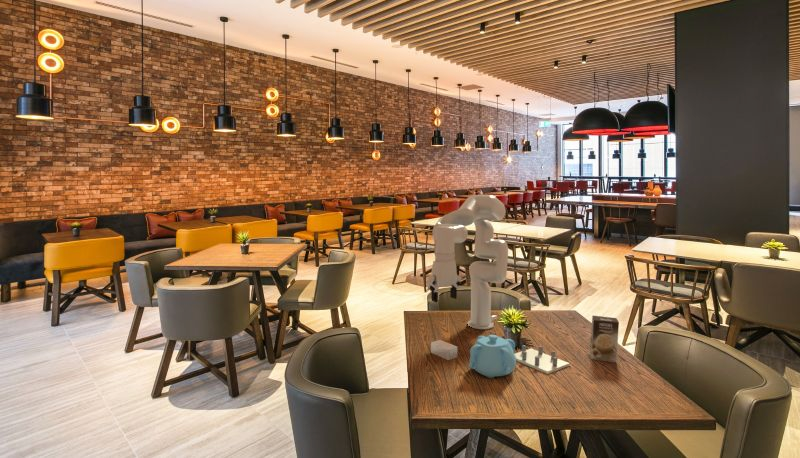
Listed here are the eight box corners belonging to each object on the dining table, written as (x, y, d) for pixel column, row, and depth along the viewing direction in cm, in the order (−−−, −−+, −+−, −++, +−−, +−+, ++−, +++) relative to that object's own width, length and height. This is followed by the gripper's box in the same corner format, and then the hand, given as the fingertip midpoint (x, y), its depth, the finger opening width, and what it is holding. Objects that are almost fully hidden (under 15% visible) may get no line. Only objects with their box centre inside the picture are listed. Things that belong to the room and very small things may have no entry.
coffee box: (591, 359, 170) (592, 319, 168) (589, 353, 176) (591, 315, 174) (617, 362, 167) (619, 322, 165) (614, 356, 173) (616, 317, 171)
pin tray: (531, 350, 179) (531, 341, 179) (569, 365, 164) (569, 355, 164) (509, 357, 172) (509, 348, 171) (547, 374, 157) (547, 363, 157)
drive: (439, 350, 181) (439, 339, 180) (457, 357, 173) (457, 346, 172) (430, 353, 177) (430, 342, 177) (448, 360, 170) (448, 349, 169)
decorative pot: (508, 385, 149) (509, 347, 147) (464, 375, 156) (464, 339, 155) (519, 367, 163) (520, 332, 161) (478, 359, 170) (479, 325, 169)
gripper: (455, 254, 179) (454, 294, 180) (421, 257, 169) (421, 300, 171) (467, 256, 173) (466, 298, 174) (433, 260, 163) (432, 305, 165)
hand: (444, 299), depth 173 cm, fingers open, 9 cm apart
